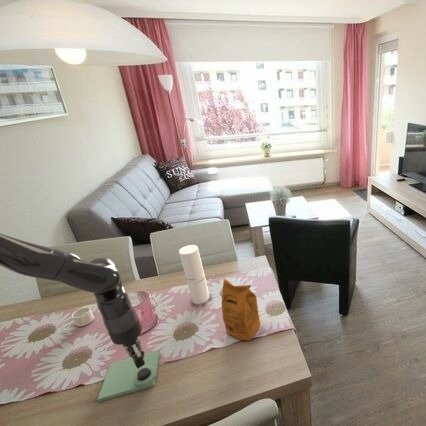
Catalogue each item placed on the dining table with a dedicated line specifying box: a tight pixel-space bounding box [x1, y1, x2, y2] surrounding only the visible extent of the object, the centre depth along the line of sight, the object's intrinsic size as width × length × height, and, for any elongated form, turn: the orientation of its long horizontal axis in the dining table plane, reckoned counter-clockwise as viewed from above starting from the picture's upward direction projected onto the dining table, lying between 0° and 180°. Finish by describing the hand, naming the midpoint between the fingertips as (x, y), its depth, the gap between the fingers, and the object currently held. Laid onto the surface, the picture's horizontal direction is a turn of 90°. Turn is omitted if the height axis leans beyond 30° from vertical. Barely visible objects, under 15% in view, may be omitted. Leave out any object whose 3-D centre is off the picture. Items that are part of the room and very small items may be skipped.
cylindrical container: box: [178, 244, 210, 305], centre depth 123 cm, size 7×7×25 cm
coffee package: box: [221, 278, 261, 342], centre depth 106 cm, size 10×12×22 cm
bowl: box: [71, 306, 95, 327], centre depth 116 cm, size 6×6×5 cm
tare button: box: [137, 368, 150, 381], centre depth 91 cm, size 3×3×2 cm
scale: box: [97, 350, 161, 403], centre depth 94 cm, size 16×14×3 cm
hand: (140, 365), depth 89 cm, fingers closed
